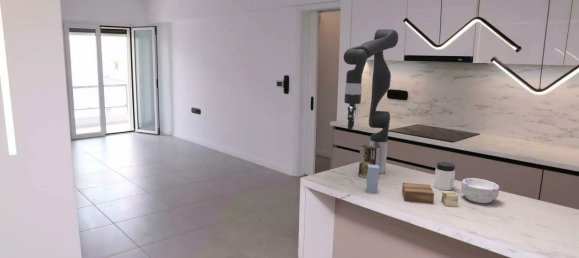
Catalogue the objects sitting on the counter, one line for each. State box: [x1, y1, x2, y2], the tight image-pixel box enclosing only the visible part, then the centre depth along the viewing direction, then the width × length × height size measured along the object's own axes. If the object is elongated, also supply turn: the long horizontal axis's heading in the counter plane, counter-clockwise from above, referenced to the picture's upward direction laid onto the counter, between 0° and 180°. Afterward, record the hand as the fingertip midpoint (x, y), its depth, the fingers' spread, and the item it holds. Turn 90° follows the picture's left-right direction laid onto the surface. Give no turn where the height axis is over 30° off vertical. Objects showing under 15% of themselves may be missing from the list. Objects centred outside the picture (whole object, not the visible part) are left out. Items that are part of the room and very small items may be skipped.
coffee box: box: [358, 144, 381, 179], centre depth 208 cm, size 9×6×16 cm
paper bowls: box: [460, 177, 500, 204], centre depth 179 cm, size 15×15×8 cm
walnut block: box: [401, 182, 435, 205], centre depth 179 cm, size 12×12×5 cm
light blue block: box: [365, 164, 380, 194], centre depth 186 cm, size 5×5×12 cm
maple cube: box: [440, 190, 459, 207], centre depth 173 cm, size 5×5×5 cm
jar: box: [433, 161, 456, 191], centre depth 194 cm, size 9×8×12 cm
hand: (350, 127), depth 188 cm, fingers open, 8 cm apart
